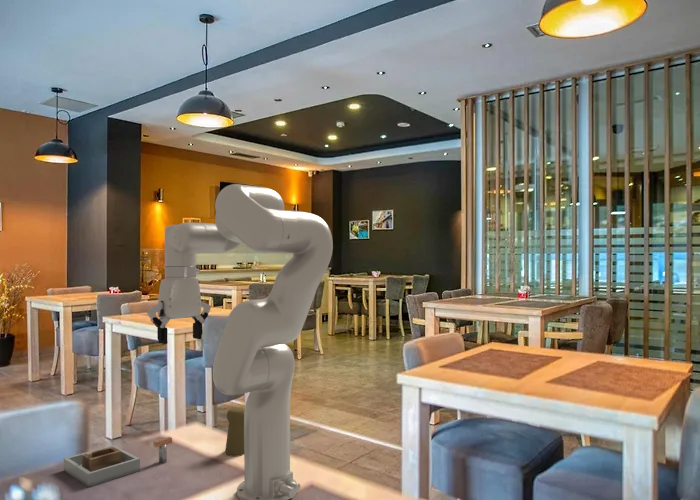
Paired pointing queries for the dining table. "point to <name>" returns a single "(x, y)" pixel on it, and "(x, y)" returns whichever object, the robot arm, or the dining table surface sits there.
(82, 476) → the tray
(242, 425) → the cork
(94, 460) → the collar
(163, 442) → the brown grey t-shaped piece
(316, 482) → the dining table surface
